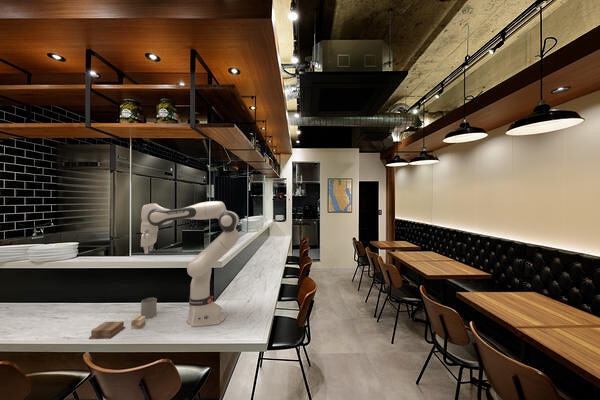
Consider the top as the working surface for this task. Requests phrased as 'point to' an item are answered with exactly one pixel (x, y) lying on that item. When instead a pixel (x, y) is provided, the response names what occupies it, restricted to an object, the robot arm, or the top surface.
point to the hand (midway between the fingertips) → (148, 252)
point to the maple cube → (138, 322)
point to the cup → (148, 307)
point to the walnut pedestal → (107, 330)
